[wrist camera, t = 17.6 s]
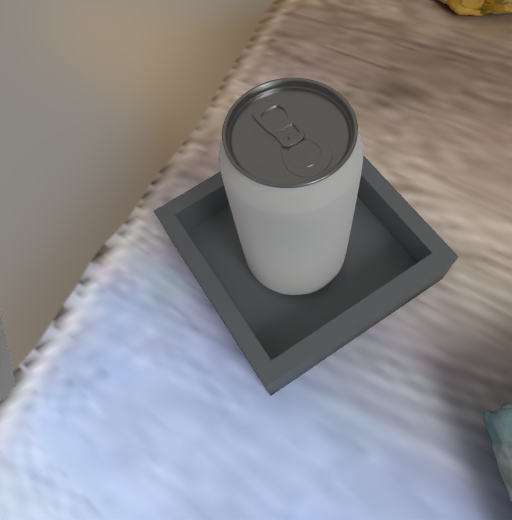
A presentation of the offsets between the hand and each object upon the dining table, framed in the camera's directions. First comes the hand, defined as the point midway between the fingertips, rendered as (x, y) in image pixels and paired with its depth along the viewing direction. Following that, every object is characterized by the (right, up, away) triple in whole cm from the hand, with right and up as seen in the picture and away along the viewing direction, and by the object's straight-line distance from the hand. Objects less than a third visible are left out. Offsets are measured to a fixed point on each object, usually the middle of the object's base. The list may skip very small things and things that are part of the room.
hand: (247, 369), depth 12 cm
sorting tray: (+3, +3, +20) cm, 20 cm away
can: (+3, +3, +19) cm, 19 cm away
